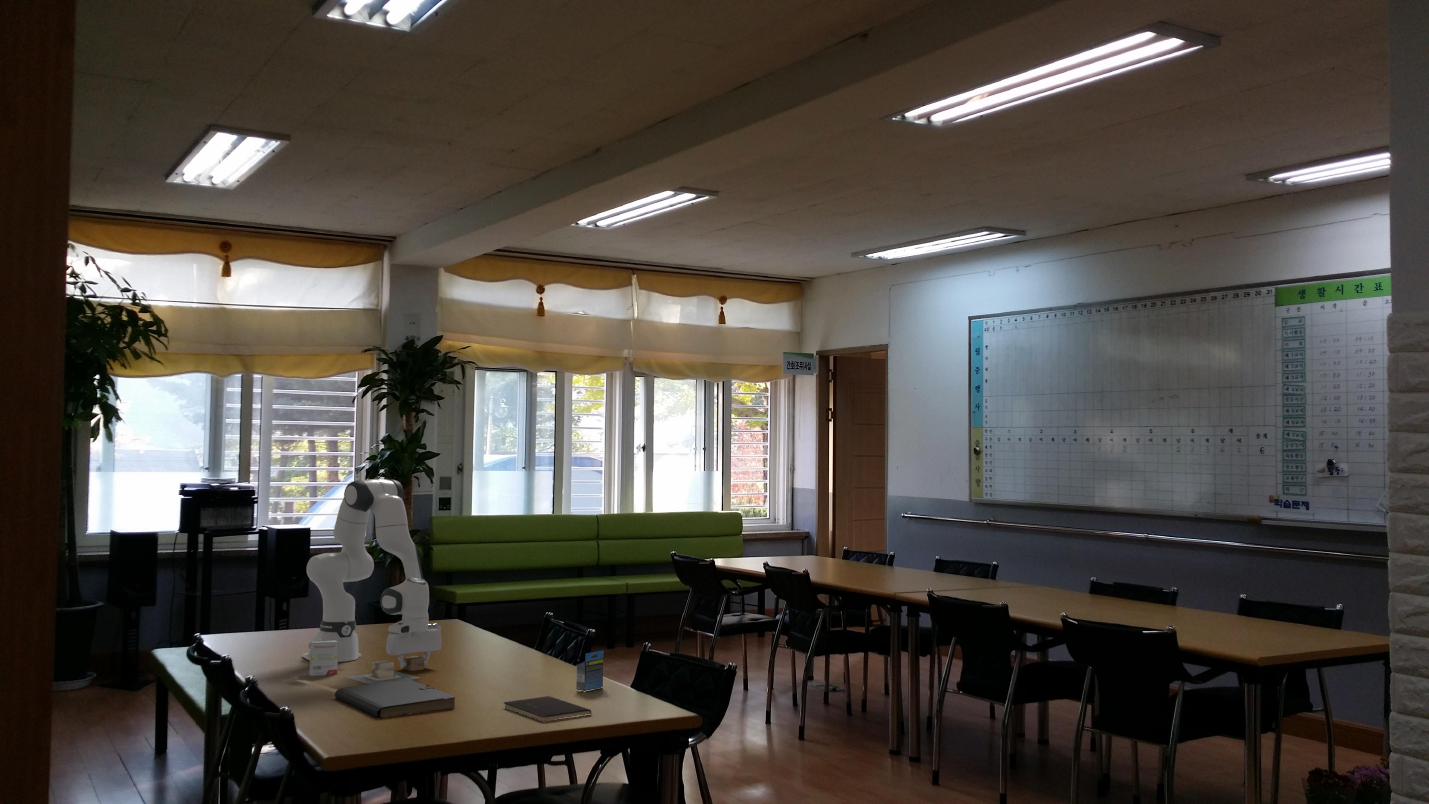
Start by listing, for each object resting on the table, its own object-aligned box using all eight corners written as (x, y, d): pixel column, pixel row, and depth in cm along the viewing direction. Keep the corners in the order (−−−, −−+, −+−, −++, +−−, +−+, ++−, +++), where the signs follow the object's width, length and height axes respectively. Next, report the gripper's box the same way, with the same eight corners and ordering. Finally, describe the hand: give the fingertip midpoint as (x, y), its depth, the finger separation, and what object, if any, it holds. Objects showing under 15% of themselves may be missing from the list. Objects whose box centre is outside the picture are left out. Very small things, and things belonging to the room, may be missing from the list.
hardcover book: (542, 724, 301) (543, 716, 301) (503, 710, 319) (503, 702, 319) (591, 717, 311) (591, 709, 311) (550, 703, 329) (550, 695, 329)
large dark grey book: (456, 695, 318) (376, 706, 303) (456, 709, 318) (376, 721, 303) (410, 678, 344) (334, 687, 329) (410, 691, 344) (334, 701, 329)
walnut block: (403, 672, 374) (403, 657, 375) (415, 670, 378) (416, 655, 378) (411, 674, 371) (411, 659, 371) (423, 672, 375) (424, 657, 375)
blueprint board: (343, 680, 358) (343, 675, 358) (392, 673, 371) (392, 669, 371) (371, 687, 345) (372, 683, 345) (421, 680, 358) (421, 676, 359)
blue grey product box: (594, 687, 353) (595, 648, 354) (603, 688, 350) (604, 650, 351) (575, 691, 346) (576, 652, 346) (584, 692, 343) (585, 653, 344)
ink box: (335, 674, 367) (337, 639, 368) (337, 677, 362) (338, 641, 363) (308, 676, 363) (310, 640, 364) (310, 679, 359) (311, 642, 360)
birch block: (371, 677, 358) (372, 662, 358) (385, 675, 362) (386, 660, 362) (379, 679, 355) (380, 663, 355) (393, 677, 358) (393, 662, 359)
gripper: (436, 622, 385) (434, 661, 384) (384, 627, 370) (382, 668, 369) (446, 623, 381) (444, 663, 380) (394, 629, 366) (392, 670, 365)
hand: (413, 665), depth 375 cm, fingers open, 7 cm apart
